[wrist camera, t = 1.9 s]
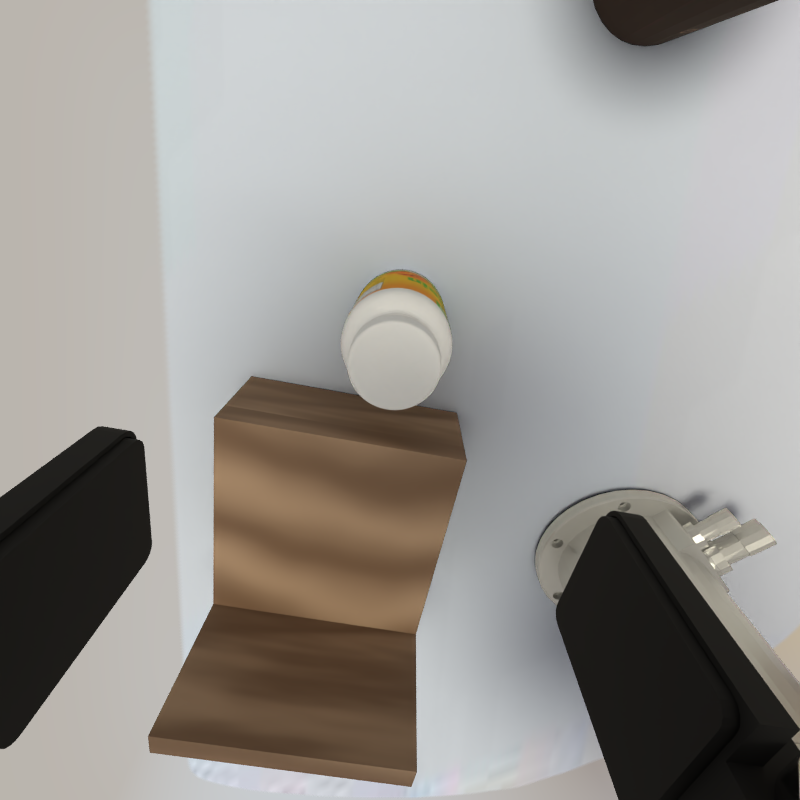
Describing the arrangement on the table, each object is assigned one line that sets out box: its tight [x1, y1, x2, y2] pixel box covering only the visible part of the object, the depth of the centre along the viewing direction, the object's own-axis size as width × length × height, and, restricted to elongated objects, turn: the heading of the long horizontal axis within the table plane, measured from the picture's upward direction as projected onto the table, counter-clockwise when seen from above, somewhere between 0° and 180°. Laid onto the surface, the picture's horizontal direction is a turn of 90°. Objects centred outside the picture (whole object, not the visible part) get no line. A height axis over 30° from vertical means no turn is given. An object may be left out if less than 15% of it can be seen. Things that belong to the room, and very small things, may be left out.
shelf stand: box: [148, 376, 467, 787], centre depth 26 cm, size 16×14×14 cm
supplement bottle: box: [341, 270, 452, 410], centre depth 22 cm, size 5×5×10 cm
